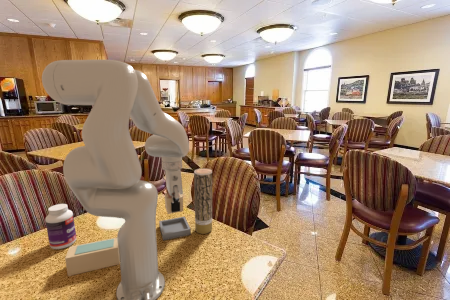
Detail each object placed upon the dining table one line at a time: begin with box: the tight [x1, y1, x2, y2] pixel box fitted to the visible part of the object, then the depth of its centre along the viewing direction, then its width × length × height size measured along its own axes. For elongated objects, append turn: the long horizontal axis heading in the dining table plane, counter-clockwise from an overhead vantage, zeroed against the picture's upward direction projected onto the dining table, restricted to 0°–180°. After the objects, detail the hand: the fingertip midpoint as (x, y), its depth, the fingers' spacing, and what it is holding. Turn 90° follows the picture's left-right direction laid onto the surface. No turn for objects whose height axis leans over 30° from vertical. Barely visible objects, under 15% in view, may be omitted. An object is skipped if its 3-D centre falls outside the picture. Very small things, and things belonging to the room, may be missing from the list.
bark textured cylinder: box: [193, 167, 213, 235], centre depth 91 cm, size 7×7×25 cm
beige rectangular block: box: [64, 237, 120, 277], centre depth 73 cm, size 6×14×6 cm, turn 112°
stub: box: [164, 192, 184, 215], centre depth 91 cm, size 6×6×6 cm
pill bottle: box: [45, 203, 77, 250], centre depth 82 cm, size 8×8×14 cm
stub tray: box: [158, 216, 192, 241], centre depth 93 cm, size 11×11×2 cm
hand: (174, 207), depth 91 cm, fingers closed on stub, 6 cm apart
